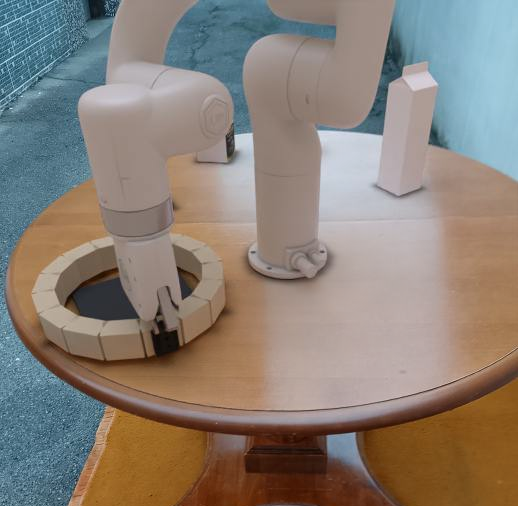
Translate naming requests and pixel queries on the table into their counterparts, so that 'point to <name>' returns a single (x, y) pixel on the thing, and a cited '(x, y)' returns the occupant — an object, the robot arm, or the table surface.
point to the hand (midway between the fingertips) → (162, 343)
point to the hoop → (132, 330)
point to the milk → (407, 129)
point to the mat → (111, 300)
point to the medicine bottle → (219, 149)
